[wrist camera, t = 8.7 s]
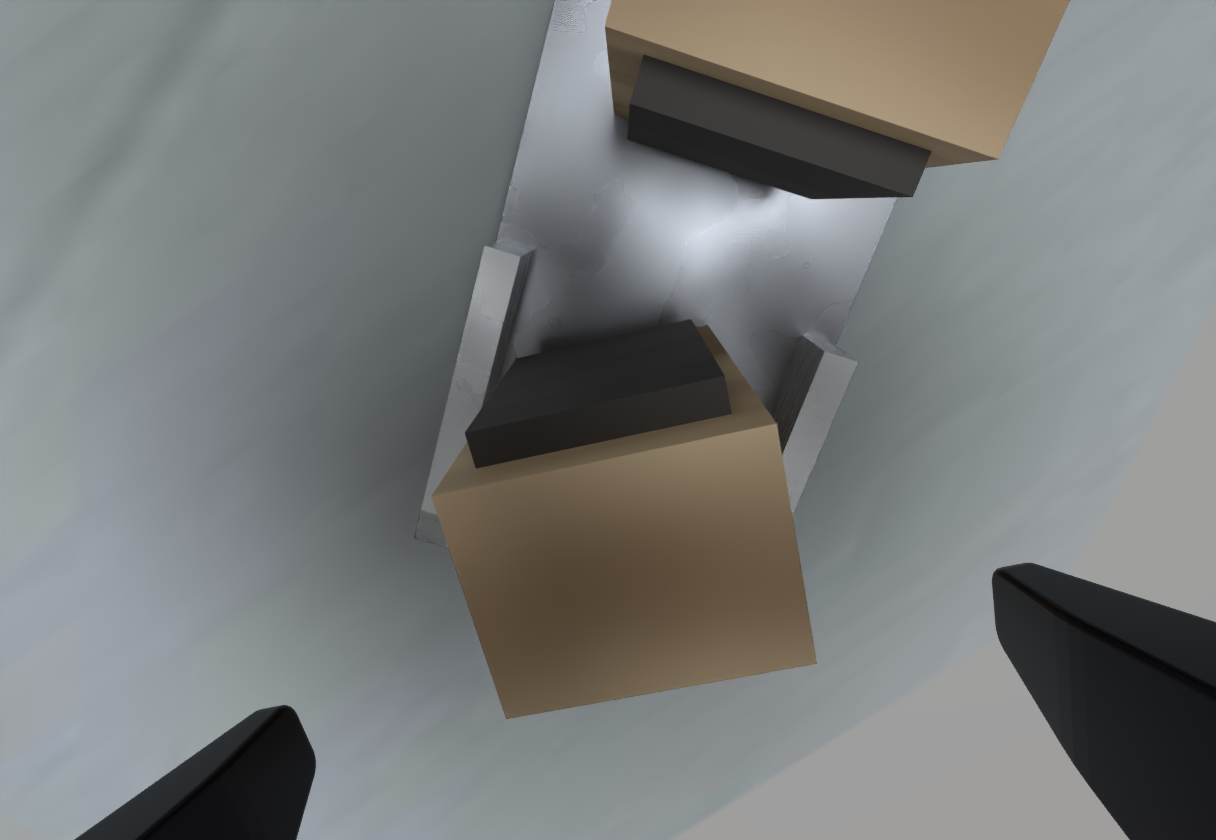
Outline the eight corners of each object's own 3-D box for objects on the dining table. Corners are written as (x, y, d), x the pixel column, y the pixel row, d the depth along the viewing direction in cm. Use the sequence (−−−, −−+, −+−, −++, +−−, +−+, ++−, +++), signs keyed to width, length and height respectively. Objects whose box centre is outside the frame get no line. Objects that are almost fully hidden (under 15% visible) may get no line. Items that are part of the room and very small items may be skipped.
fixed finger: (669, -85, 14) (722, -412, 7) (888, -7, 15) (1175, -234, 7) (606, 140, 16) (589, 81, 8) (808, 206, 16) (975, 209, 8)
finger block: (509, 345, 17) (417, 458, 10) (703, 301, 17) (769, 382, 9) (554, 507, 19) (506, 719, 11) (735, 470, 18) (817, 663, 10)
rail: (628, -253, 15) (630, -387, 11) (1001, -116, 15) (1106, -205, 12) (442, 493, 20) (406, 551, 17) (722, 573, 21) (741, 643, 17)
